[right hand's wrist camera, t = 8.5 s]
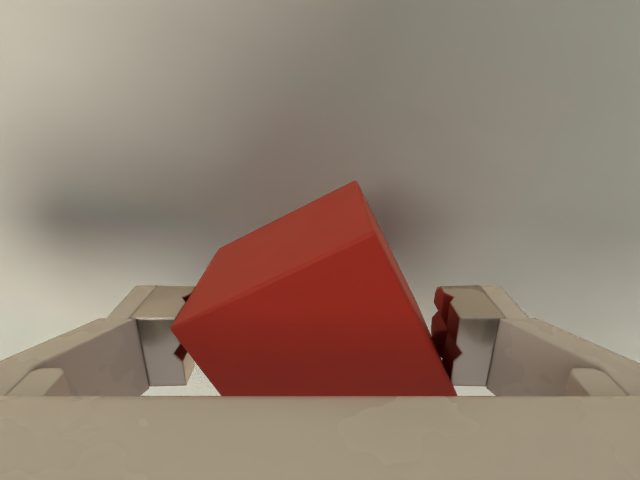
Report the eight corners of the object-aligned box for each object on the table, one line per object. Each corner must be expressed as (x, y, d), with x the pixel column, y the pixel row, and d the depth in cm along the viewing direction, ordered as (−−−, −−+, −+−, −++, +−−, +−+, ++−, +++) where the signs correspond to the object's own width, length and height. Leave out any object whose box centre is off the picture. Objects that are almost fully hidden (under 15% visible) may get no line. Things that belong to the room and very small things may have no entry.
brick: (356, 179, 11) (375, 230, 7) (416, 303, 12) (460, 401, 9) (217, 249, 12) (167, 329, 8) (289, 357, 13) (277, 470, 9)
